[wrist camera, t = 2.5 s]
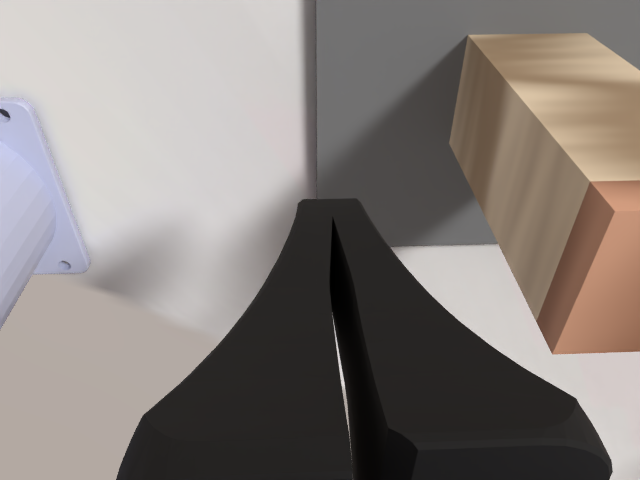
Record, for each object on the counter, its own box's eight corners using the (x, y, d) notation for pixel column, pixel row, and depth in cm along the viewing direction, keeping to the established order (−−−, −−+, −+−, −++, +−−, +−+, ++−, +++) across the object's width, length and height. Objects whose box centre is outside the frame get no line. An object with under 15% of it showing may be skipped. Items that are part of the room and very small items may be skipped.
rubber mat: (317, 241, 23) (317, 248, 23) (314, -157, 14) (315, -156, 14) (798, 228, 24) (806, 235, 23) (1080, -158, 15) (1101, -158, 14)
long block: (448, 143, 20) (552, 354, 12) (467, 34, 17) (614, 211, 9) (553, 141, 20) (723, 348, 12) (587, 33, 17) (830, 205, 9)
